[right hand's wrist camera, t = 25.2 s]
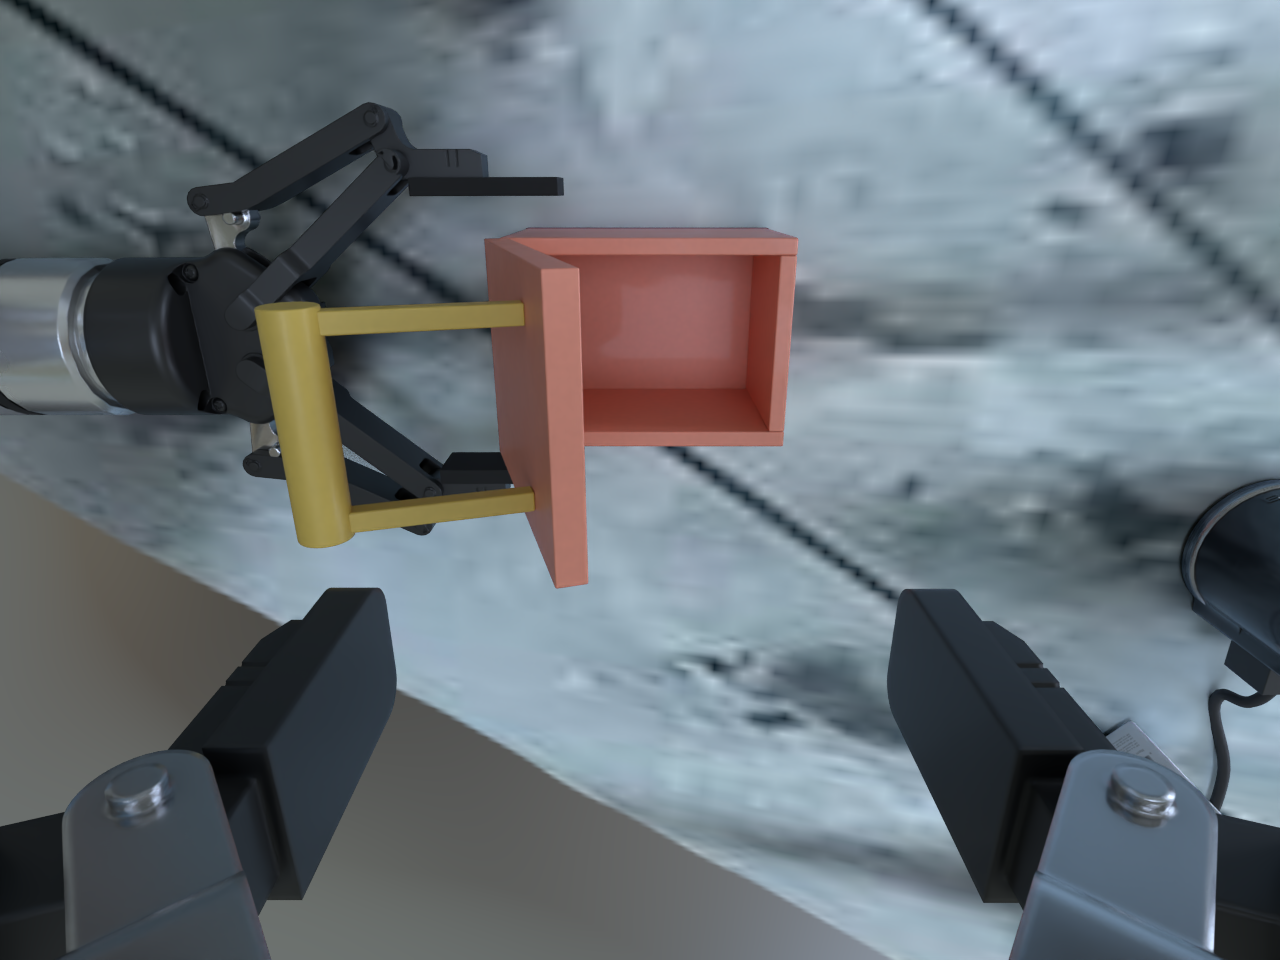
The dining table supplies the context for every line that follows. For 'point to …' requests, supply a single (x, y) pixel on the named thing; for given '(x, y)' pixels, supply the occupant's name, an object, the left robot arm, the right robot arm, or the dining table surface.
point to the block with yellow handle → (525, 396)
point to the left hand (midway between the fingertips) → (567, 336)
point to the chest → (680, 332)
